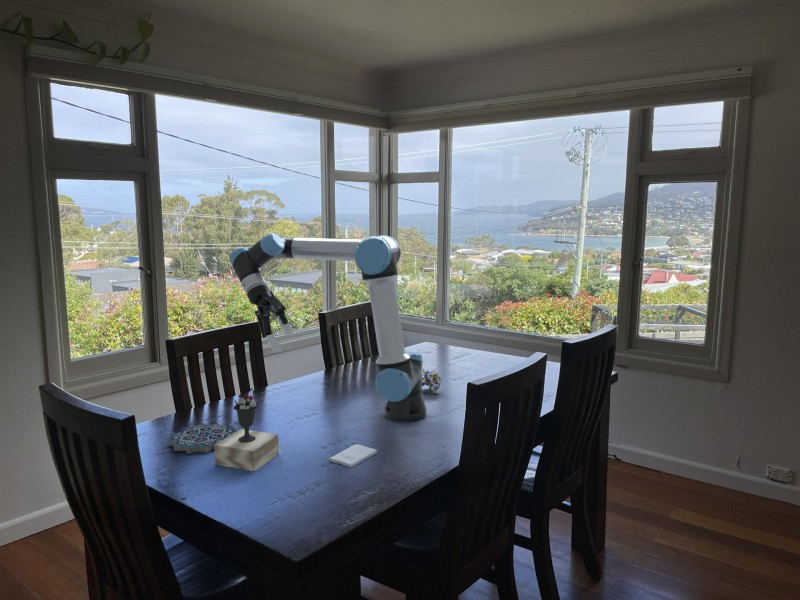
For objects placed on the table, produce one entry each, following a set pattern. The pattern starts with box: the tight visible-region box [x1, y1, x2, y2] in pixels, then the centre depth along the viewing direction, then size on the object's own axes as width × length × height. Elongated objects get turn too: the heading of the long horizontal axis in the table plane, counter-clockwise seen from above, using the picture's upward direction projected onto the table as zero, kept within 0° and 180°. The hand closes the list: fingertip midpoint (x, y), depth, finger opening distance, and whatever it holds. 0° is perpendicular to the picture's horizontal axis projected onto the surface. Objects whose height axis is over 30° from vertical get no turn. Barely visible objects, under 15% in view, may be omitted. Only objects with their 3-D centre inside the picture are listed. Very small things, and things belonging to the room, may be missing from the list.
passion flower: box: [422, 368, 442, 395], centre depth 233 cm, size 11×11×12 cm
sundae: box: [233, 388, 258, 442], centre depth 168 cm, size 7×7×15 cm
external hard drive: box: [328, 443, 378, 468], centre depth 172 cm, size 2×8×12 cm
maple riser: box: [214, 428, 280, 472], centre depth 169 cm, size 13×13×6 cm
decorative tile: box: [168, 423, 238, 455], centre depth 183 cm, size 20×20×2 cm
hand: (283, 342), depth 191 cm, fingers open, 13 cm apart
